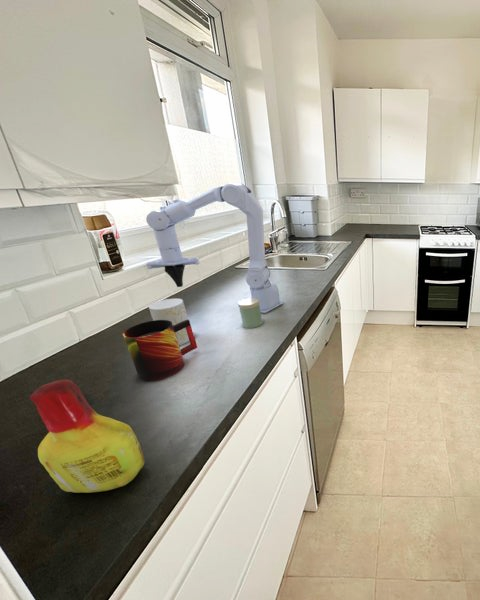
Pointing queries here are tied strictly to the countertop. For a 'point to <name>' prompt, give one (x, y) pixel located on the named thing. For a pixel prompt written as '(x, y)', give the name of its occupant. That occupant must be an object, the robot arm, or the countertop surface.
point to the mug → (157, 348)
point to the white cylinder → (171, 315)
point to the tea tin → (250, 312)
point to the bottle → (84, 442)
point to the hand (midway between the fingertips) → (180, 286)
